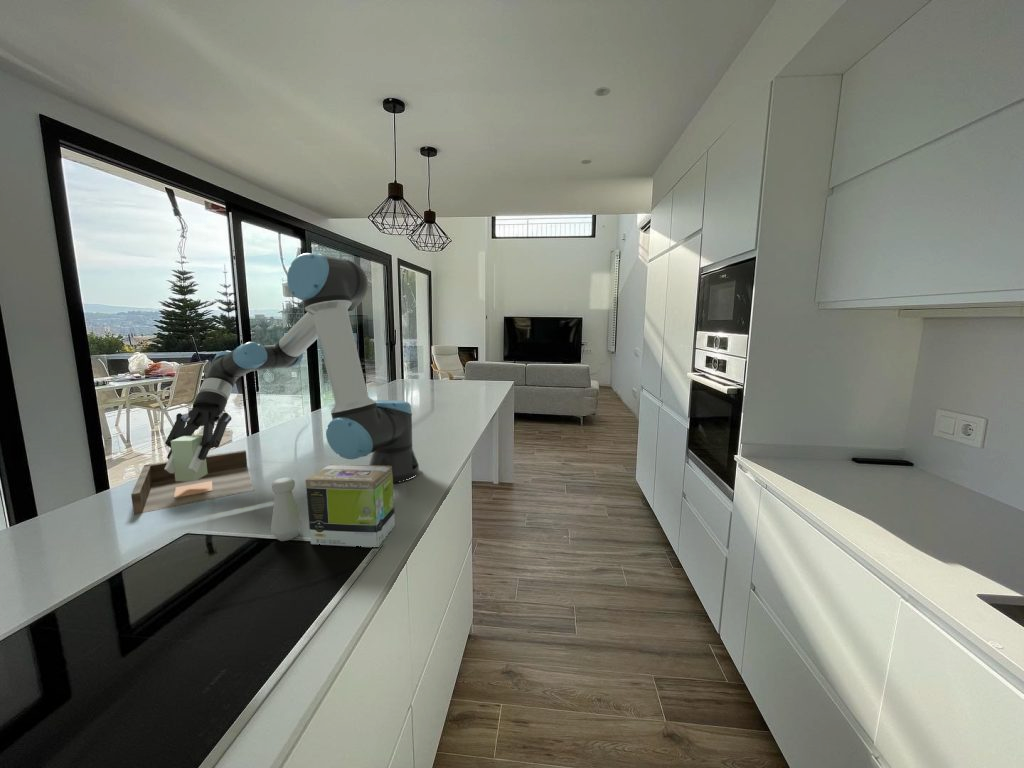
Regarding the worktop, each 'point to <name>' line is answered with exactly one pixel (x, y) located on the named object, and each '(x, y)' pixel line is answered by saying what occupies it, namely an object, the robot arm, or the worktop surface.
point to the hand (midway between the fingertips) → (180, 470)
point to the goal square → (193, 489)
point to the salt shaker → (285, 510)
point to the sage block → (187, 458)
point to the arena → (160, 484)
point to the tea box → (350, 505)
